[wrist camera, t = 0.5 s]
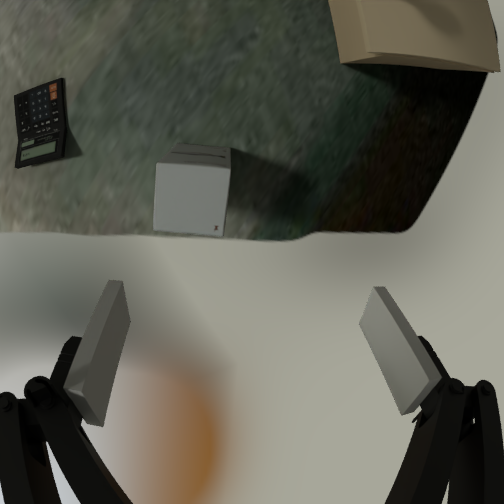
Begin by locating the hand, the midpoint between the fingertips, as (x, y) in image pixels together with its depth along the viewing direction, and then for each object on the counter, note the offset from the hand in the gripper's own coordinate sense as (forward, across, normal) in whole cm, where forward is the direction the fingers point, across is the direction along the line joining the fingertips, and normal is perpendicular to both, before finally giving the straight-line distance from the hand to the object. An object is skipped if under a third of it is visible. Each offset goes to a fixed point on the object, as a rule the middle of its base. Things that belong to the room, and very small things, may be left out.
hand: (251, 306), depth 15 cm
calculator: (+29, -29, +7) cm, 42 cm away
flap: (+16, +18, +27) cm, 36 cm away
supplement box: (+28, -4, -1) cm, 29 cm away
